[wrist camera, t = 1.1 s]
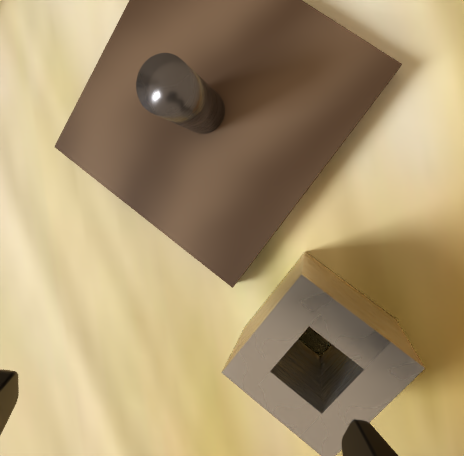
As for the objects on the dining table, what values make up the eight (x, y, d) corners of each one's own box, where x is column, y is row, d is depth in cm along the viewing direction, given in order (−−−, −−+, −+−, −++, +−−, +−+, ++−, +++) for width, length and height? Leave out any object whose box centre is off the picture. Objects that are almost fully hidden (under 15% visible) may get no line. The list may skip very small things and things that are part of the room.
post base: (396, 71, 17) (440, 9, 11) (236, 282, 20) (204, 322, 14) (179, -69, 18) (116, -186, 12) (66, 148, 22) (-25, 135, 16)
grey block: (395, 319, 18) (425, 368, 13) (325, 393, 19) (328, 461, 15) (305, 251, 19) (301, 274, 14) (244, 328, 20) (221, 372, 15)
